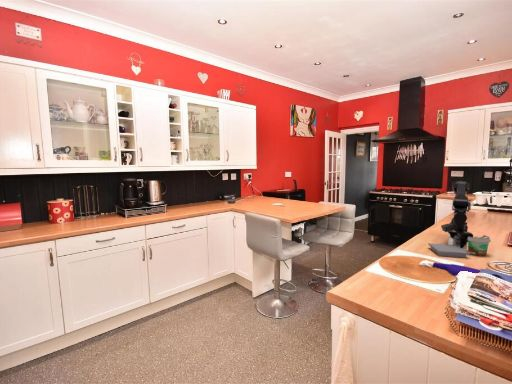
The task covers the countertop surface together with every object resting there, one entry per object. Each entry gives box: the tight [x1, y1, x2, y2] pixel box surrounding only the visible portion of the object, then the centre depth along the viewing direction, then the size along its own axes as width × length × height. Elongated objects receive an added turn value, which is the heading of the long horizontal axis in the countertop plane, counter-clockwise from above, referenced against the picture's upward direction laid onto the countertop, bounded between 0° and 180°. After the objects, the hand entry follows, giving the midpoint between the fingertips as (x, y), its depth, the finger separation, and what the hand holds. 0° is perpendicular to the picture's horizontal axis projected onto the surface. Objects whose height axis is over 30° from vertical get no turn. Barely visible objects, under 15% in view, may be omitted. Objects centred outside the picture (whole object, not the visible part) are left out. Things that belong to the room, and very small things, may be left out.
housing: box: [448, 235, 468, 251], centre depth 150 cm, size 5×7×7 cm
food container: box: [467, 234, 492, 257], centre depth 138 cm, size 12×6×10 cm, turn 105°
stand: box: [428, 242, 471, 259], centre depth 141 cm, size 14×14×3 cm
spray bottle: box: [418, 259, 481, 276], centre depth 117 cm, size 3×11×24 cm
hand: (457, 245), depth 150 cm, fingers open, 9 cm apart
